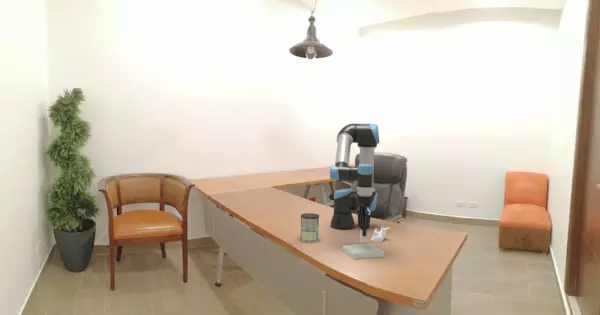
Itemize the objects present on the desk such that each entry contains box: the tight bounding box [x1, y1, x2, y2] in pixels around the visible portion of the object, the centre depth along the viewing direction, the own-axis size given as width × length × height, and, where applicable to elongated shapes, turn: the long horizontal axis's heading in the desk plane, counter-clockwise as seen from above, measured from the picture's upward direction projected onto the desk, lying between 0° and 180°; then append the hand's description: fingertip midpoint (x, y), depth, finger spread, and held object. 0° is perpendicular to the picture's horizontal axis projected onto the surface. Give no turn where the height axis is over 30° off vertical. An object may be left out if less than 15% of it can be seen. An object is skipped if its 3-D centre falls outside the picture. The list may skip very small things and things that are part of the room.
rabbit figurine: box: [370, 226, 390, 243], centre depth 224 cm, size 12×8×10 cm, turn 118°
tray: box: [342, 243, 385, 260], centre depth 201 cm, size 14×16×3 cm
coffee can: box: [300, 212, 320, 243], centre depth 225 cm, size 10×10×14 cm
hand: (363, 241), depth 201 cm, fingers closed
